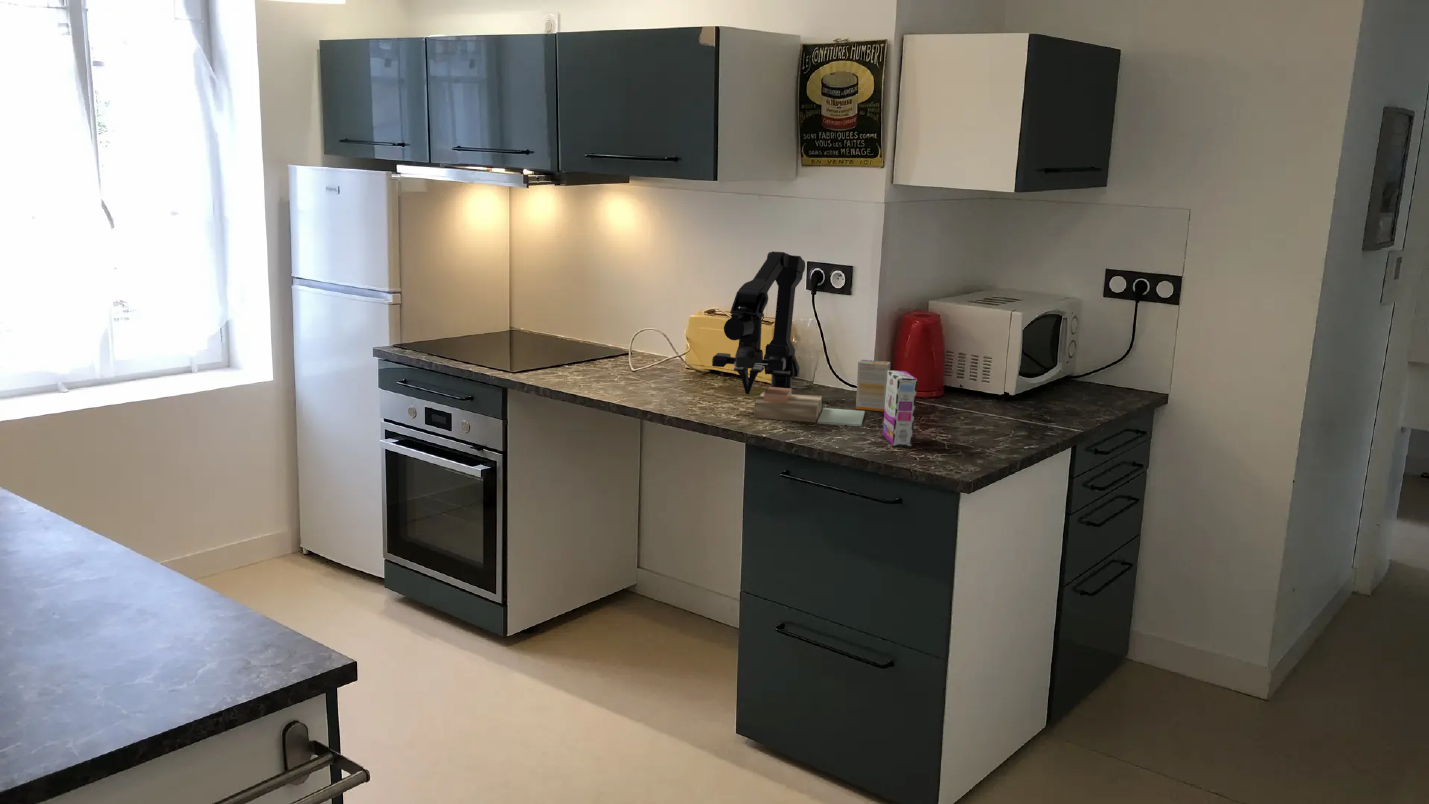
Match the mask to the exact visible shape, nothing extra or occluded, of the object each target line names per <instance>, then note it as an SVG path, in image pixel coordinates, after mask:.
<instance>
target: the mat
mask: <svg viewBox="0 0 1429 804" xmlns="http://www.w3.org/2000/svg"><path fill="white" fill-rule="evenodd" d="M865 413H866V410H858V409H856V410H853V409H840V408H827V407H826V408H825V407H823V408H822V410H821V413H820V415H819V417H818V419H817V424H819V425H821V424H823V425H831V426H832V425H833V426H845V425H847V426H848V427H858V426H859V427H860V428H861V427H862V426H863V425H862V424H863V420H864V418H865ZM847 426H846V427H847Z"/></svg>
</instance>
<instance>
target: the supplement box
mask: <svg viewBox="0 0 1429 804" xmlns="http://www.w3.org/2000/svg"><path fill="white" fill-rule="evenodd" d="M887 371H891V361H883V360H871V359H870V360H868V359H861V360H859V361H858V362H857V380H856V397H855V398H856V399H855V401H856V402H855V409H856V410H860V411H874V412H883V413H884V409H885V396H886V384H887Z"/></svg>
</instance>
